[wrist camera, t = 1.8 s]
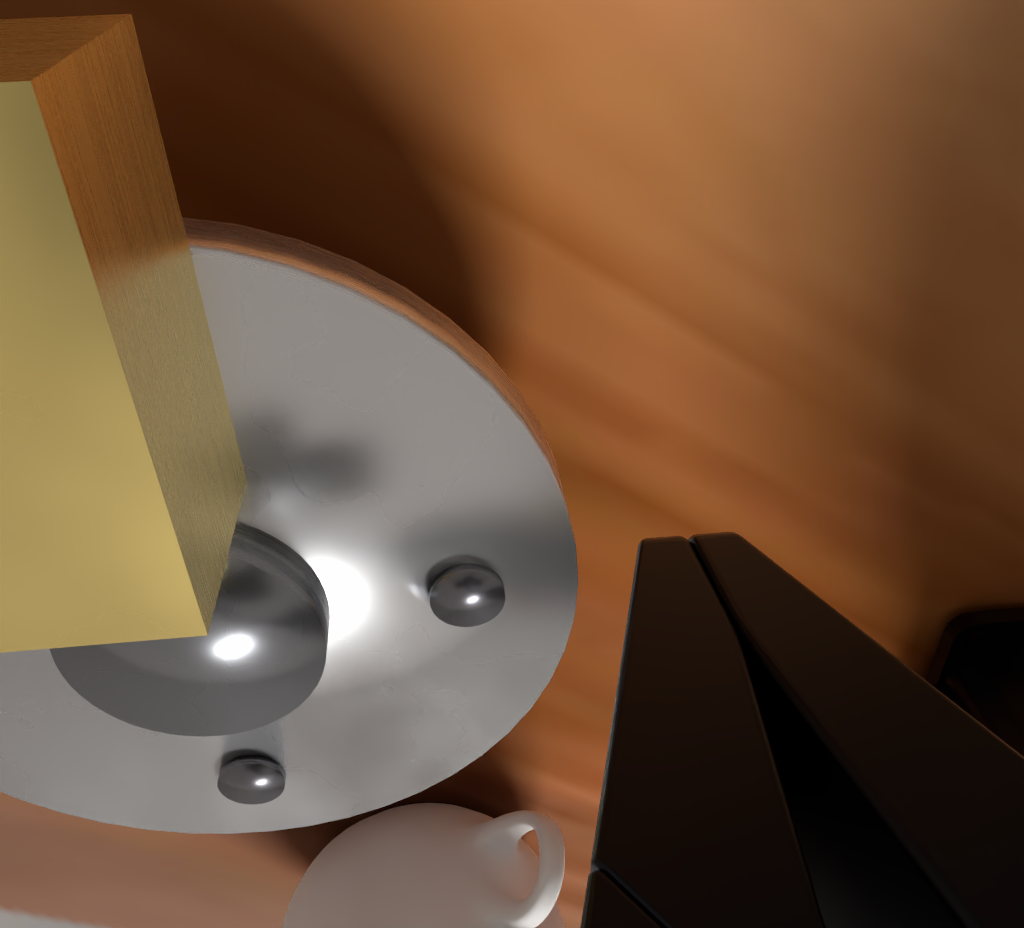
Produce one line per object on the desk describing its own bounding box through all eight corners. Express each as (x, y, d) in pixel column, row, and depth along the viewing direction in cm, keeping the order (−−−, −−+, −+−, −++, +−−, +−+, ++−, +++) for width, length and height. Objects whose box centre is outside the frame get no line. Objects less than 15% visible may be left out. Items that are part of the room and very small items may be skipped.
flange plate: (564, 752, 19) (598, 954, 16) (-21, 806, 18) (-119, 1031, 15) (576, -22, 10) (654, 51, 7) (-514, 23, 10) (-1013, 128, 6)
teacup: (467, 938, 29) (477, 1136, 25) (241, 887, 26) (207, 1101, 22) (655, 764, 24) (709, 969, 20) (408, 679, 22) (407, 896, 17)
